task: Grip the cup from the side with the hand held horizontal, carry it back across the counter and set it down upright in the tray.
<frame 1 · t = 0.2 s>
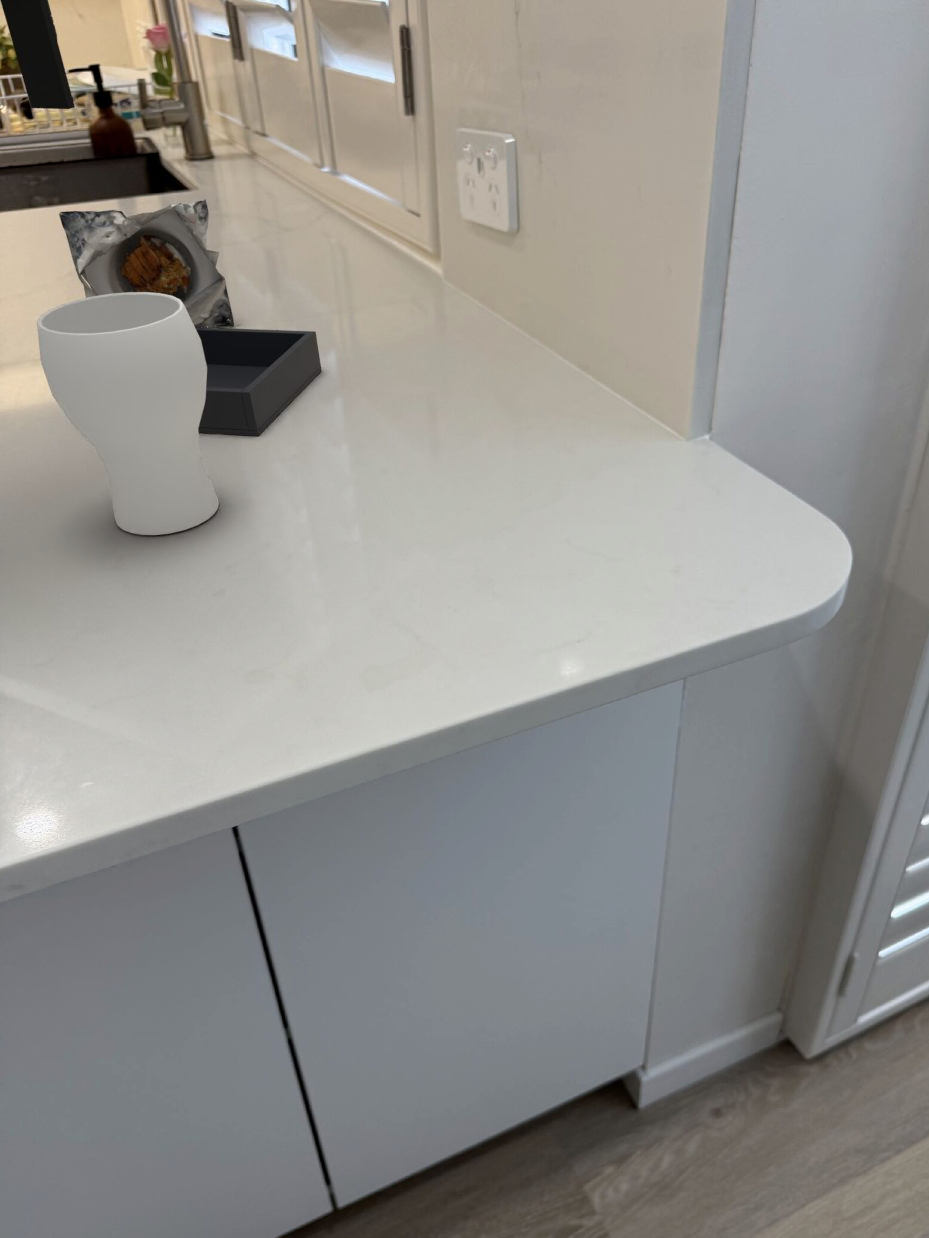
cup: (168, 514, 73), on the worktop
tray: (212, 397, 92), on the worktop
meal: (166, 335, 108), on the worktop
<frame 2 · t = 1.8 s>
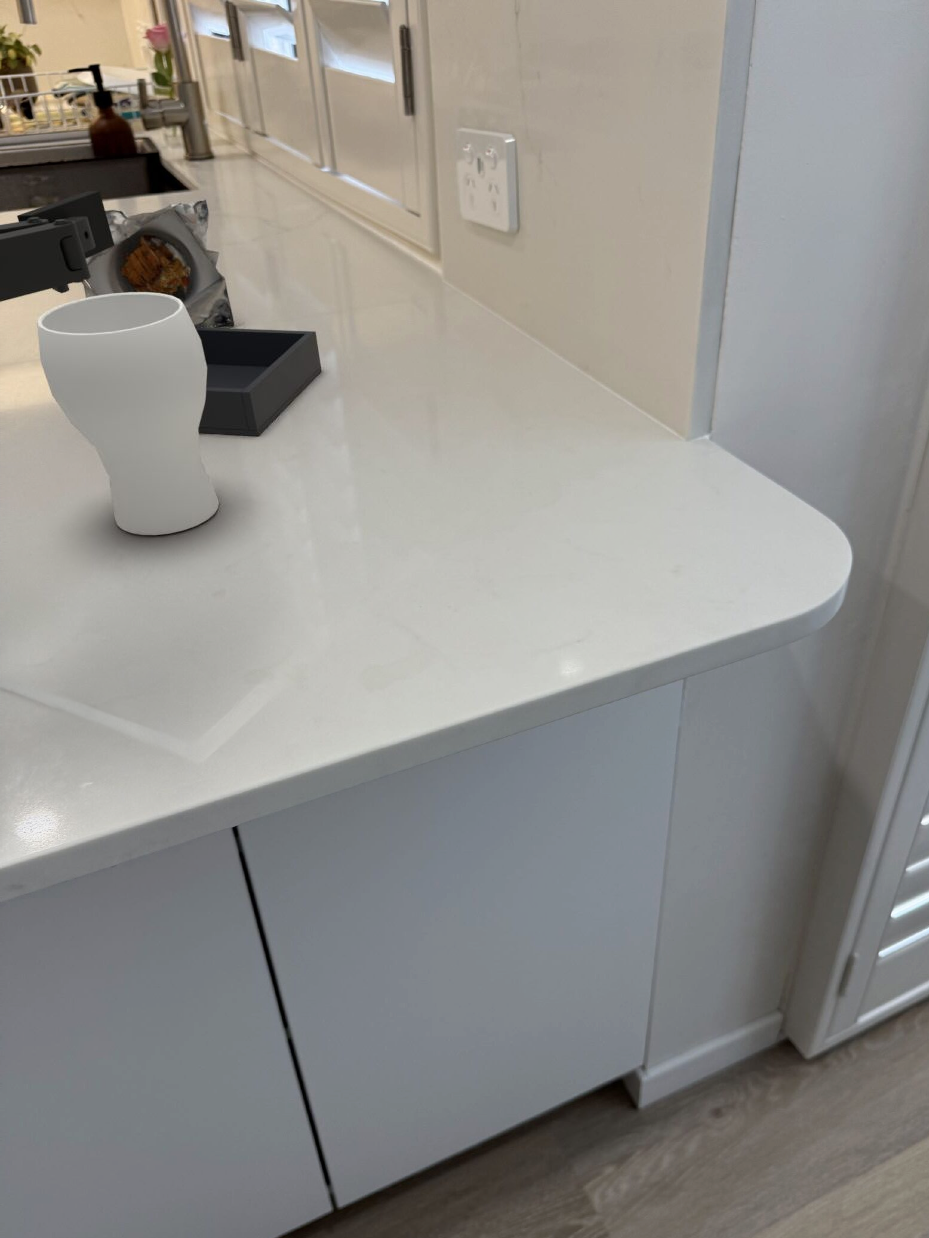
nothing on the worktop moved.
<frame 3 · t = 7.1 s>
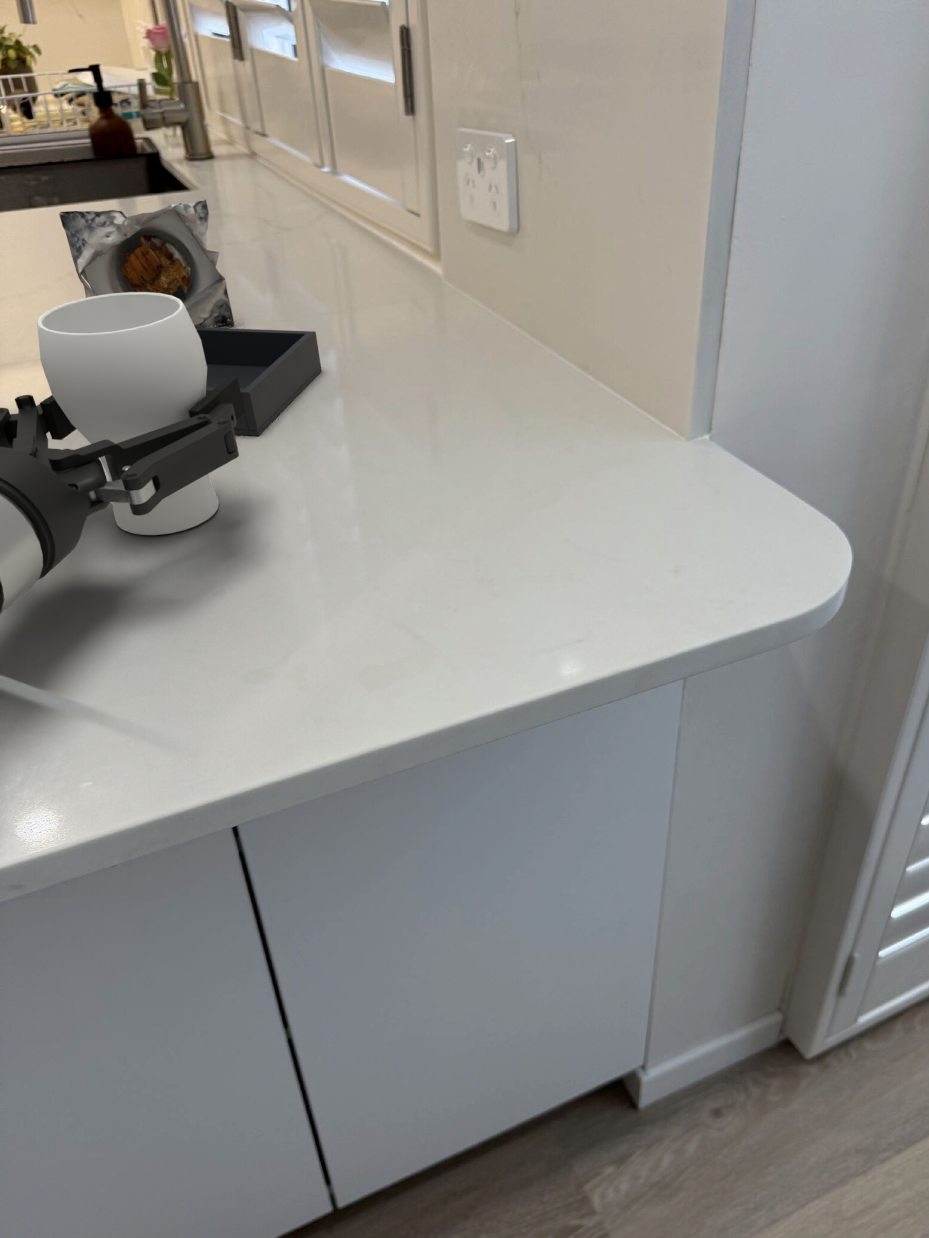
hand: (166, 391, 71), 8 cm above the worktop, tool horizontal, fingers closed on cup, 11 cm apart
cup: (168, 514, 73), on the worktop, touching gripper
everything else where it was.
when the fingers open (8 cm above the worktop, at t = 16.3 s): cup stays where it is, resting on tray.
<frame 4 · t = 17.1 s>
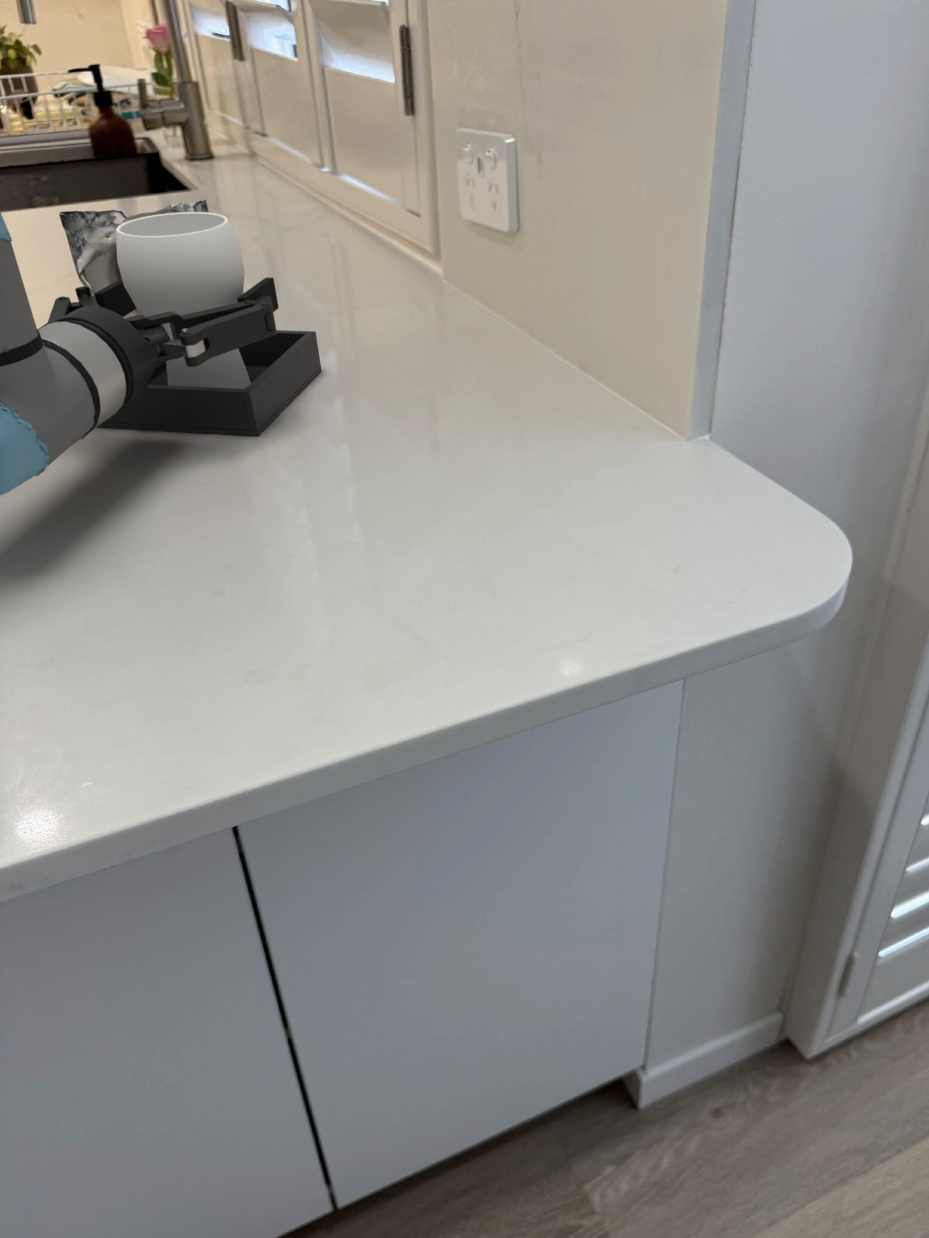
hand: (204, 290, 88), 9 cm above the worktop, tool horizontal, fingers open, 13 cm apart
cup: (211, 394, 91), resting on tray
everything else where it was.
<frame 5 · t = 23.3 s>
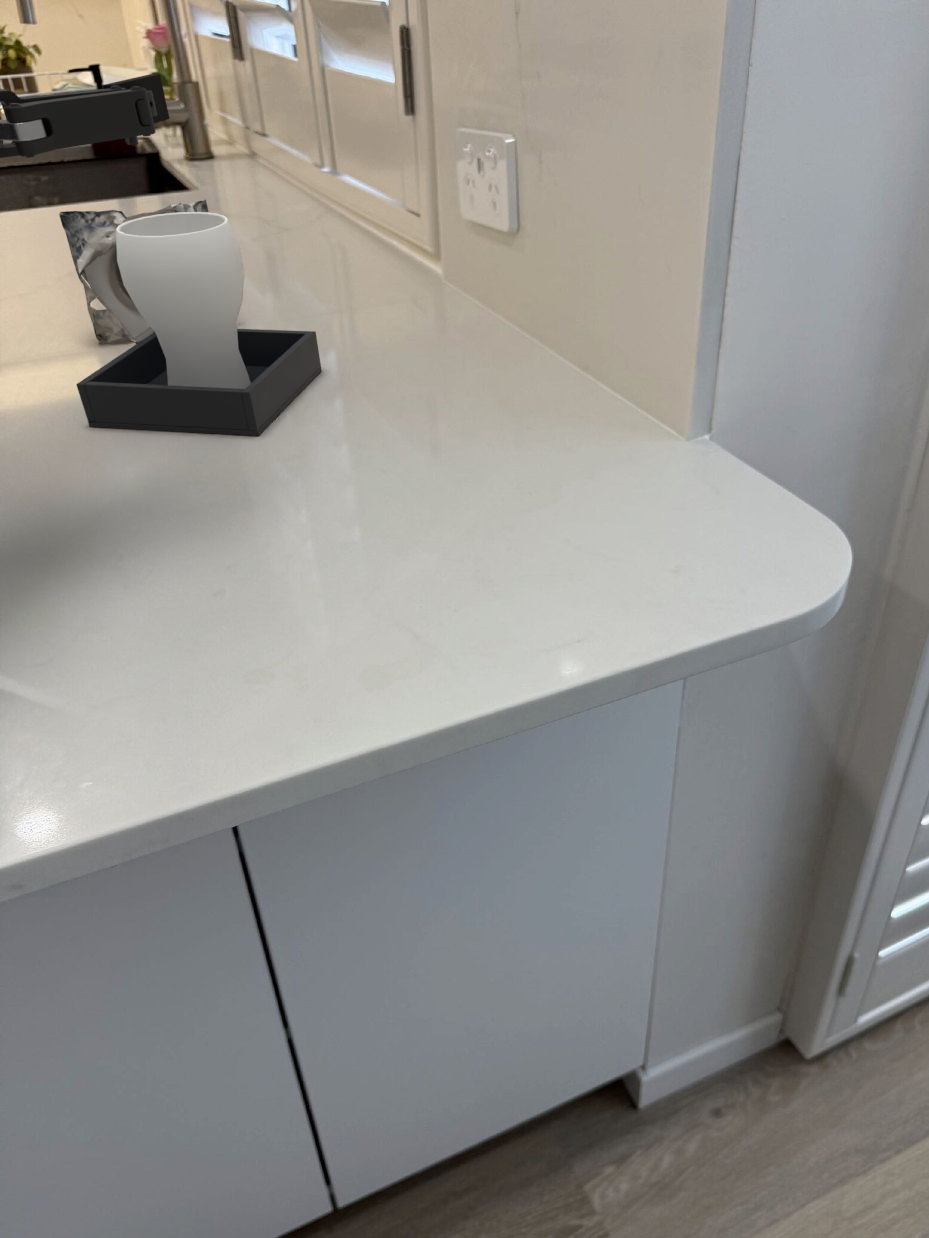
hand: (73, 97, 68), 26 cm above the worktop, tool horizontal, fingers open, 13 cm apart
nothing on the worktop moved.
at the end: cup inside the target area in the tray (0.1 cm from its centre), point 0.3 cm above the tray's base; cup tilted 0°; the gripper is holding nothing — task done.
